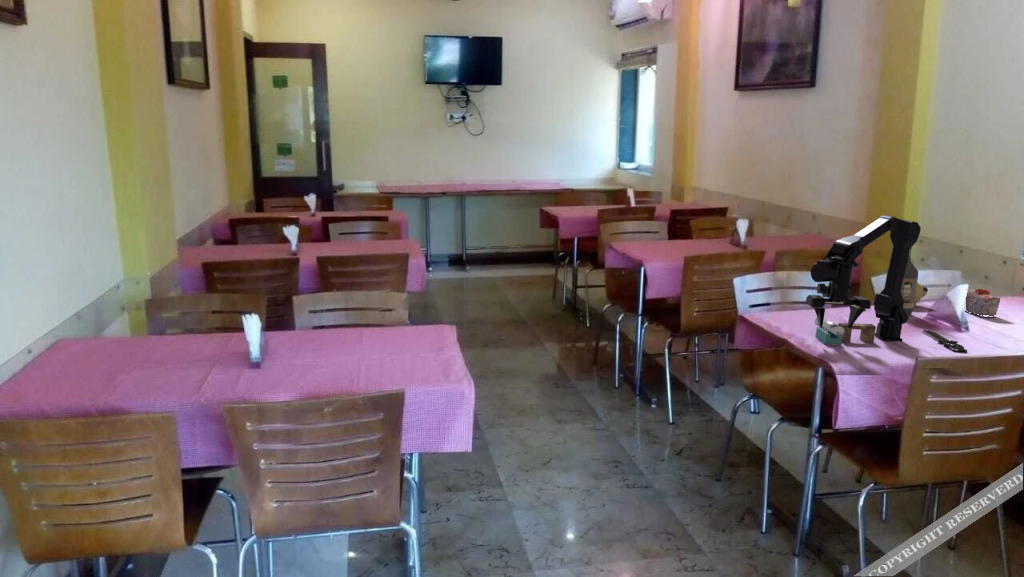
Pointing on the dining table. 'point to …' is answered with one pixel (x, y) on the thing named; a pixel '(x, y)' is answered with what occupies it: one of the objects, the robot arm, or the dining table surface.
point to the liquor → (909, 285)
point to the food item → (981, 302)
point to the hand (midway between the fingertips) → (834, 327)
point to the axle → (831, 327)
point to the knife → (945, 341)
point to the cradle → (827, 337)
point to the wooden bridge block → (865, 335)
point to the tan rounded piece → (919, 293)
